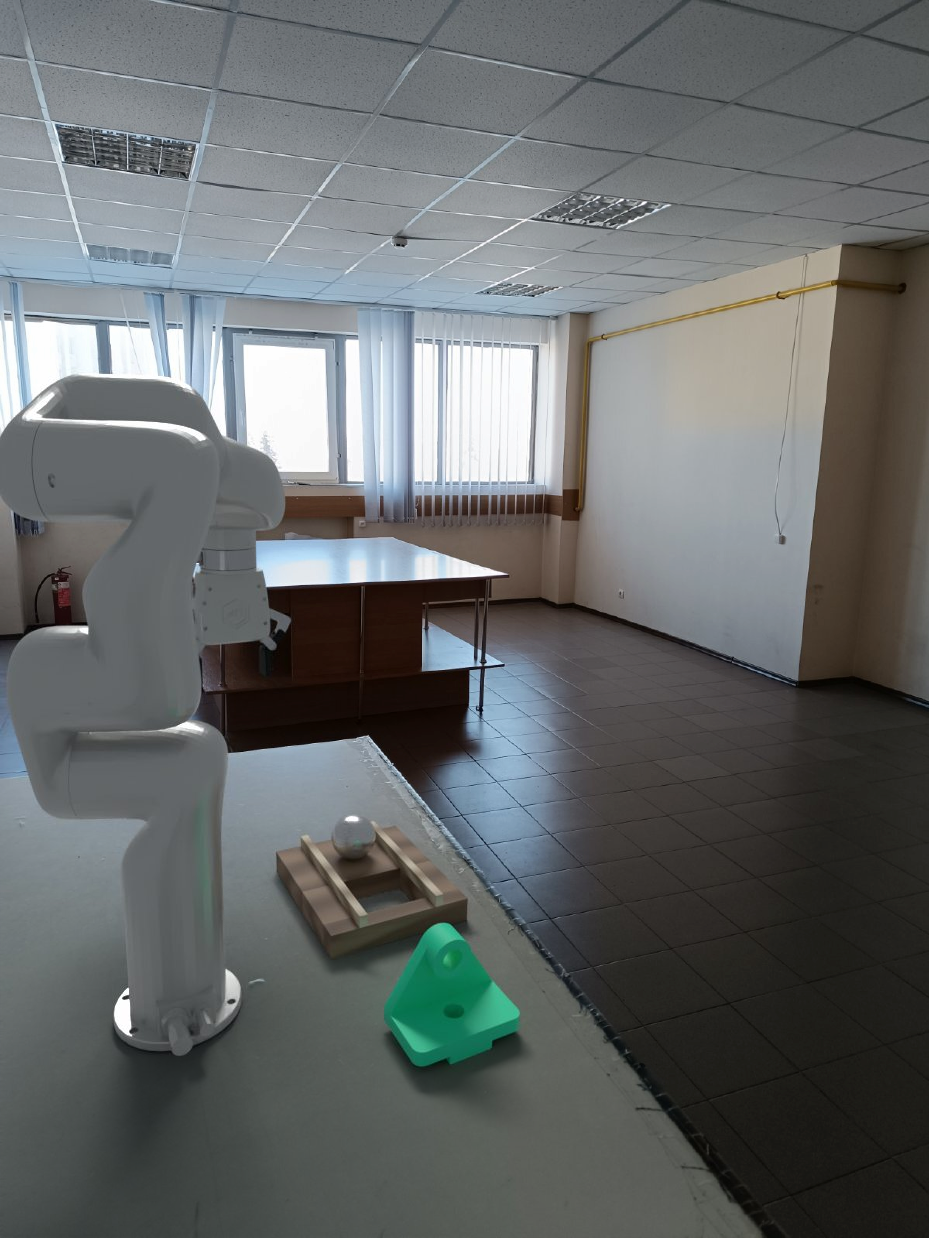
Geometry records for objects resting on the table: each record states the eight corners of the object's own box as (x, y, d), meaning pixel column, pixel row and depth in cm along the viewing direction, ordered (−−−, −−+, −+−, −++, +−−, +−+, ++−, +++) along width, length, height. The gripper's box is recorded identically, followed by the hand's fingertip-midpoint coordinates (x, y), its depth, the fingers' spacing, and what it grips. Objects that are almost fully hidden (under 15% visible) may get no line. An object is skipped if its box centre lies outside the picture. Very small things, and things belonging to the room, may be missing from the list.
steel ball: (382, 861, 110) (382, 820, 109) (340, 871, 107) (340, 829, 106) (365, 842, 115) (365, 803, 114) (325, 851, 112) (324, 811, 111)
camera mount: (416, 1079, 77) (418, 983, 74) (383, 1028, 83) (384, 938, 81) (522, 1037, 82) (527, 947, 80) (484, 993, 89) (487, 909, 87)
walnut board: (466, 919, 102) (468, 887, 101) (331, 959, 94) (331, 924, 93) (395, 844, 121) (395, 816, 120) (276, 871, 112) (276, 841, 111)
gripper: (169, 567, 105) (175, 694, 108) (297, 561, 113) (299, 678, 117) (157, 559, 111) (163, 679, 114) (280, 554, 120) (282, 665, 123)
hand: (232, 679), depth 116 cm, fingers open, 9 cm apart
